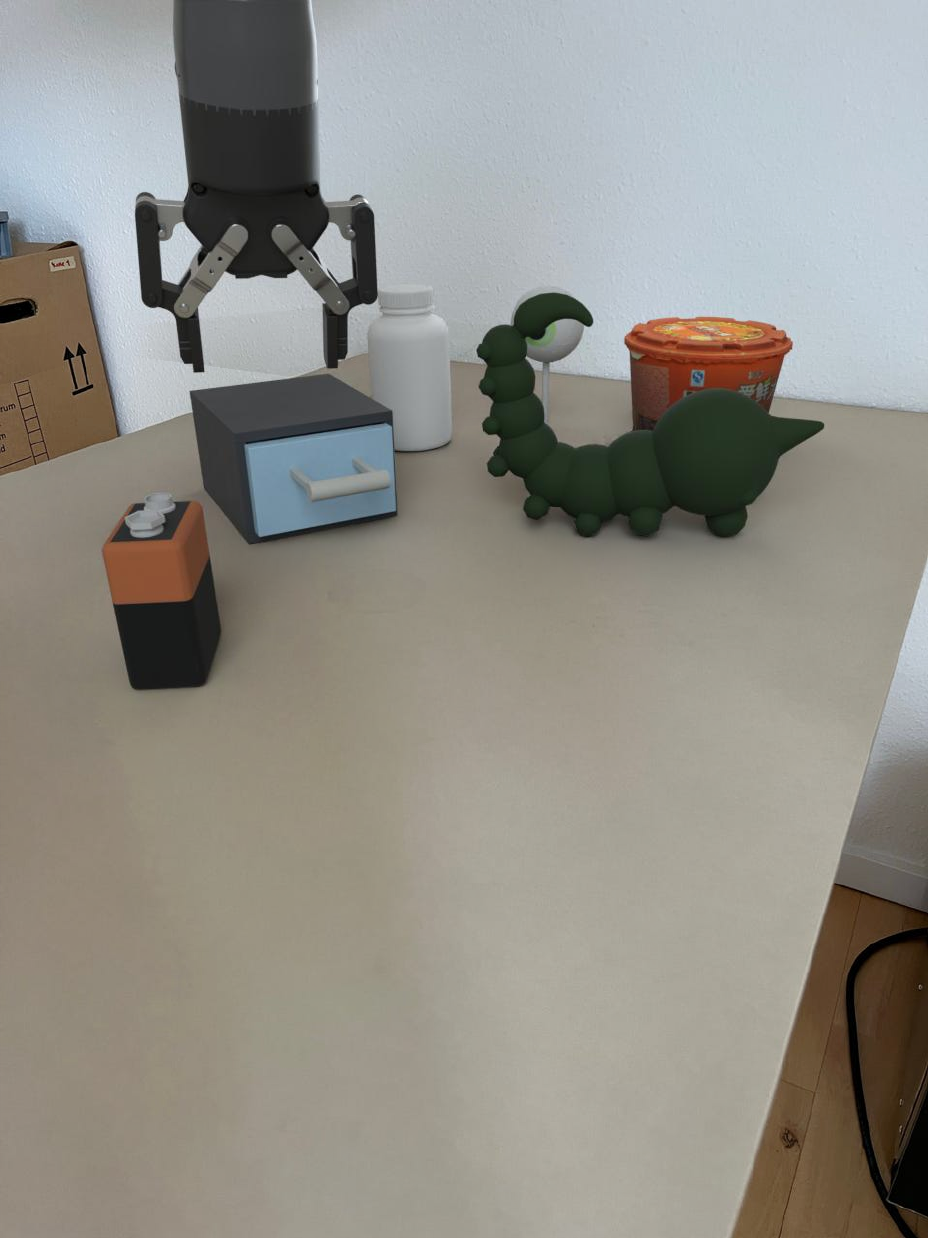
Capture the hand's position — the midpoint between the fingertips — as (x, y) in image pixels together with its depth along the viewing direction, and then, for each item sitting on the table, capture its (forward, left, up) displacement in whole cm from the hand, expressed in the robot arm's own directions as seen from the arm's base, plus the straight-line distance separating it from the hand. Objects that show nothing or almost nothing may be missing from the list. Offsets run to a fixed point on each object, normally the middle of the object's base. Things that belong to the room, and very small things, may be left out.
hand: (266, 365), depth 62 cm
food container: (+47, +11, -15) cm, 51 cm away
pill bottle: (+21, +24, -15) cm, 35 cm away
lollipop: (+33, +18, -15) cm, 41 cm away
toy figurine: (+27, -6, -15) cm, 31 cm away
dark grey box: (+5, +13, -15) cm, 20 cm away
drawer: (+5, +9, -14) cm, 17 cm away
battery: (-10, -10, -15) cm, 20 cm away
